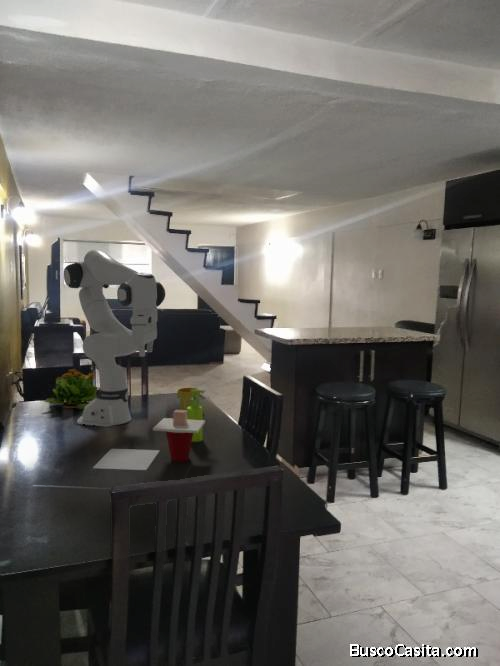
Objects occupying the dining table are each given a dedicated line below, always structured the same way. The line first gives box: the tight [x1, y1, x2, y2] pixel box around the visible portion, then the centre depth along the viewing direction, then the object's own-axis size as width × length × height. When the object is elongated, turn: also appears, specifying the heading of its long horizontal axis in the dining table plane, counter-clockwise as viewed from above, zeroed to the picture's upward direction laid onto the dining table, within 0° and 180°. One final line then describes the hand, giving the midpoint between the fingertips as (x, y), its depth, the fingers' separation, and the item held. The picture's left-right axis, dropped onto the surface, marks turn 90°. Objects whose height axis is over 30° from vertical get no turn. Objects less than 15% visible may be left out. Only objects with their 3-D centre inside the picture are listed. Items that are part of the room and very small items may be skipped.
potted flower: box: [43, 368, 99, 410], centre depth 239 cm, size 25×24×18 cm
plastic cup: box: [165, 431, 194, 463], centre depth 173 cm, size 11×11×12 cm
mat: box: [92, 448, 160, 471], centre depth 173 cm, size 18×18×1 cm
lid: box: [152, 409, 206, 433], centre depth 173 cm, size 15×15×5 cm
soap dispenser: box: [187, 388, 206, 443], centre depth 192 cm, size 6×7×20 cm
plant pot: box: [176, 387, 201, 410], centre depth 234 cm, size 10×10×10 cm
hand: (146, 354), depth 187 cm, fingers open, 8 cm apart
